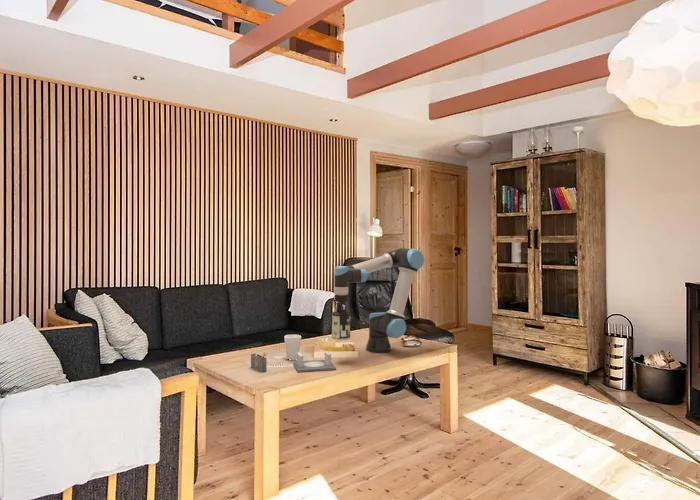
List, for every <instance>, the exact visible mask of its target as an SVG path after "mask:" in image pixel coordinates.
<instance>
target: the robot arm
mask: <svg viewBox="0 0 700 500" xmlns="http://www.w3.org/2000/svg"><path fill="white" fill-rule="evenodd" d="M424 264H425V256H424V254H423V252H422V251H421V250H420V249H418V248H417V249H416V248H414V247H413V248H407V247H406V248H405V247H400V248H396V249H394V250H390V251H387V252H385V253H383V255H381V256H377V257H373V258H371V259H367V260H365V261H362V262H359V263H355V264H353V265H348V266H347V265H345V266H344V265H337V266H335V267H334V275H333V276H334V288H333V291H334V302H335V303H336V309H335V312H339V313H340V314H342V316H341V324H340V325H341V337H345V336H346V324H347V313H346V312H347V305H345V303H347V302H348V301H349V295H348V294H349V284H353V283H359V284H361V283H366V281H367V280H368V274H371V273H374V272H377V271H379V270H383V269H386V268H389V269H391V268H394V267H395V268H396V267H397V268H398V270H399V272H398V273H399V274H398V277H397V281H396V284H395V288H394V292H393V295H392V299H391V303H390V306H389V309H388V310H387V311H385V312H382V311H381V312H372V313H370V314H369V316H368V322H369V323H368V324H369V325H368V339H367V343H366V347H365V350H366V351H368V352H370V353H375V354H377V353H378V354H380V353H381V354H382V353H389V352H391V350H392V348H391V347H392V346H391V342H390V340H389V338H391V339H398V338H400V337H402V336H403V335H405V333H406V331H407V323H406V321H405V320H406V316H405V315H404V313H405V308H406V305H407V302H408V298H409V294H410V291H411V287H412V282H413V279H414V276H415V275H417V274H418V271H419V269H421V268H422V267H423V266H424Z"/></svg>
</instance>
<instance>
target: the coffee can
mask: <svg viewBox="0 0 700 500" xmlns="http://www.w3.org/2000/svg"><path fill="white" fill-rule="evenodd" d="M346 313H347V324H346V336H345V337H341V325H340V324H341V316H342V314H340V313H339V312H336V311H333V312H331V322H332V323H331V339H332V340H336V341H346V340H347V341H348V340H350V339H351V312H350V311H346Z"/></svg>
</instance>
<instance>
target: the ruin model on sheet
mask: <svg viewBox="0 0 700 500" xmlns="http://www.w3.org/2000/svg"><path fill="white" fill-rule="evenodd" d="M266 356H267V353H265V352H264V353H263V355H260V354H256V353H251V354H250V368H251V369H253V370H256V371H258V372H260V373H267V357H266Z"/></svg>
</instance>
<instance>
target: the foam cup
mask: <svg viewBox="0 0 700 500" xmlns="http://www.w3.org/2000/svg"><path fill="white" fill-rule="evenodd" d="M283 338H284V346H285V353H286V355H285V356H286V359H291V360H294V361H297V360H296V359H297V353H299V352H300V349H301V341H302V336H301V334H300V335H299V334H286V335H284V337H283ZM291 360H290V361H291Z"/></svg>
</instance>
